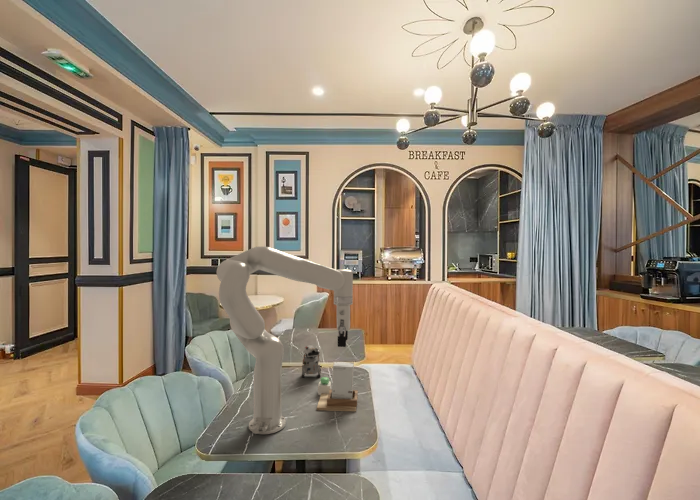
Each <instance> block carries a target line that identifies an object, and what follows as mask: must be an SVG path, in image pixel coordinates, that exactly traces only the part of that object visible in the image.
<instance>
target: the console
mask: <svg viewBox="0 0 700 500" xmlns="http://www.w3.org/2000/svg"><path fill="white" fill-rule="evenodd" d="M330 389H332V381H330V380H329V383H327V384H322V383H321V380H320V381H319V382H318V385H317V395H318V396H321V393H326V394H329V390H330Z"/></svg>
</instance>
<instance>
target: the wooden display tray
mask: <svg viewBox="0 0 700 500" xmlns="http://www.w3.org/2000/svg"><path fill="white" fill-rule="evenodd" d="M358 391H359V390H358V389H353V393H352V399H333V398H332V388H331V389H330V390H329V394H326V393H321V395H319V400H318V403H317V406H316V411H328V412H329V411H330V412H357V407H358V396H359V393H358Z"/></svg>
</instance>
